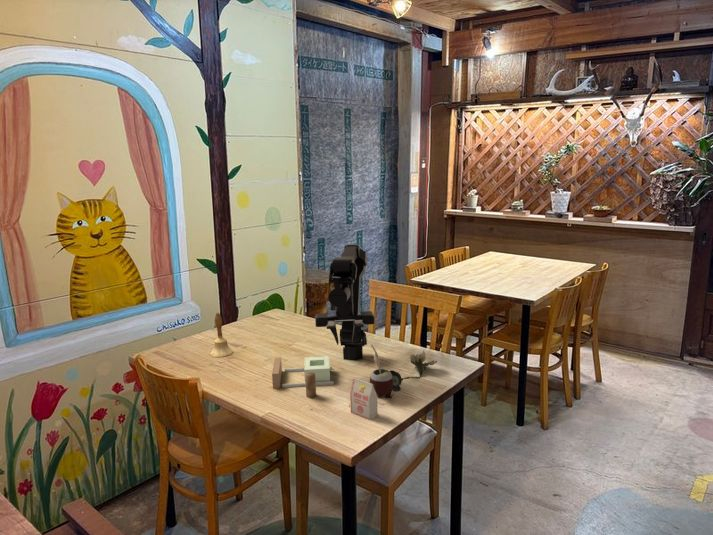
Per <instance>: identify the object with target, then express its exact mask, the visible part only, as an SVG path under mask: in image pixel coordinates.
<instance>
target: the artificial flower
mask: <svg viewBox="0 0 713 535" xmlns="http://www.w3.org/2000/svg"><path fill="white" fill-rule="evenodd" d="M426 358H427V354H426V352H425V350H423V351H422V352H421V353H420V354H410V355H409V356H408V359H409V360H410V363H411V364H412V365H413V366H415V367H414V368H413V369H417V372H418V375H419V376H406V377H402V375H401V374H400V372H399V371H398V372H397V371H395V370H393V369H392V370H389V371H390V372H391V374H392V377H393V390H392V392H397V391H401V389H402V388H401V385H402V382H403V381H404V380H407V379H414V380H415V379H420V377H421V378H422V377H423V375H424V373H425V368H426V367H428V366H434V365H435V364H437V363H438V360H430V361H428V362H425V361H426Z"/></svg>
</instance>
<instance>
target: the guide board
mask: <svg viewBox="0 0 713 535" xmlns="http://www.w3.org/2000/svg"><path fill="white" fill-rule="evenodd" d="M273 362H274V363H273V368H272V372H271V377H272V378H271V379H272V389H280V387H281V381H282V372H283V367H282V357H275V358H274V361H273ZM332 370H333V366H331V365H330V371H332ZM293 372H295V373H296V372H304V367H294V368H284V373H293ZM334 383H335V382H334V380H330V381H325V382H316V387H317V386H329V385H331V386H333V385H334ZM297 387H299V388H301V387H306V383H305V382H297V383H296V382H294V383H282V388H283V389H284V388H285V389H286V388H297Z"/></svg>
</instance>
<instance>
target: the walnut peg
mask: <svg viewBox="0 0 713 535" xmlns="http://www.w3.org/2000/svg"><path fill="white" fill-rule="evenodd" d="M305 380H306V386H305V395H306V398H308V399H313V398H314V399H315V398H316V397H317V386H316V379H315V373H313V372H309V373H306V374H305V373H304V381H305Z"/></svg>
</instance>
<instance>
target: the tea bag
mask: <svg viewBox="0 0 713 535" xmlns="http://www.w3.org/2000/svg"><path fill="white" fill-rule="evenodd" d="M349 394H350V398H349V399H350V400H349V401H350V413H351V414H353V415H356V416H359V417H361V418H363V419H366V420H369V421H370V420H372V419H373V418H375V417H377V416H378V395H377V394H376V392H375V389H374V386H373V384H371V383H370V382H368V381H365V380H361V379H358V378H355V377H354V378H353V382H352V385H351V389H350V393H349Z"/></svg>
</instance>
